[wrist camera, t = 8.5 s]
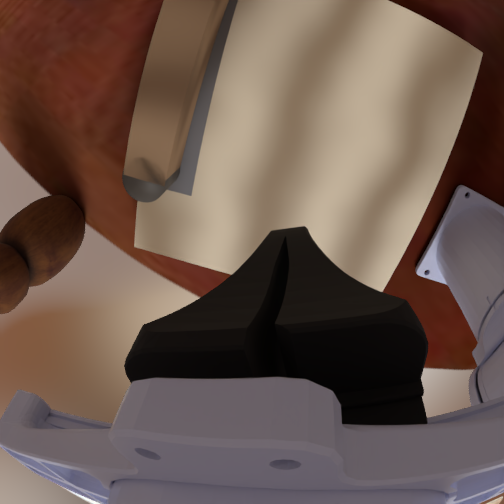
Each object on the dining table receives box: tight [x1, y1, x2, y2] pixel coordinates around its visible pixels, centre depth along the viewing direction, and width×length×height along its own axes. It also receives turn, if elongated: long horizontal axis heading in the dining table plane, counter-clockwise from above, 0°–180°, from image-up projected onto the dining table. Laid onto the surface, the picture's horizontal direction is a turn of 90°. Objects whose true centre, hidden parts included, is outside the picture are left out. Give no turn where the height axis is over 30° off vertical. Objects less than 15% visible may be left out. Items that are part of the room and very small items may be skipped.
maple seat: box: [134, 0, 483, 292], centre depth 18 cm, size 18×20×3 cm
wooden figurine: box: [0, 195, 85, 314], centre depth 18 cm, size 7×6×15 cm
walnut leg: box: [122, 0, 229, 203], centre depth 14 cm, size 14×3×2 cm, turn 163°
